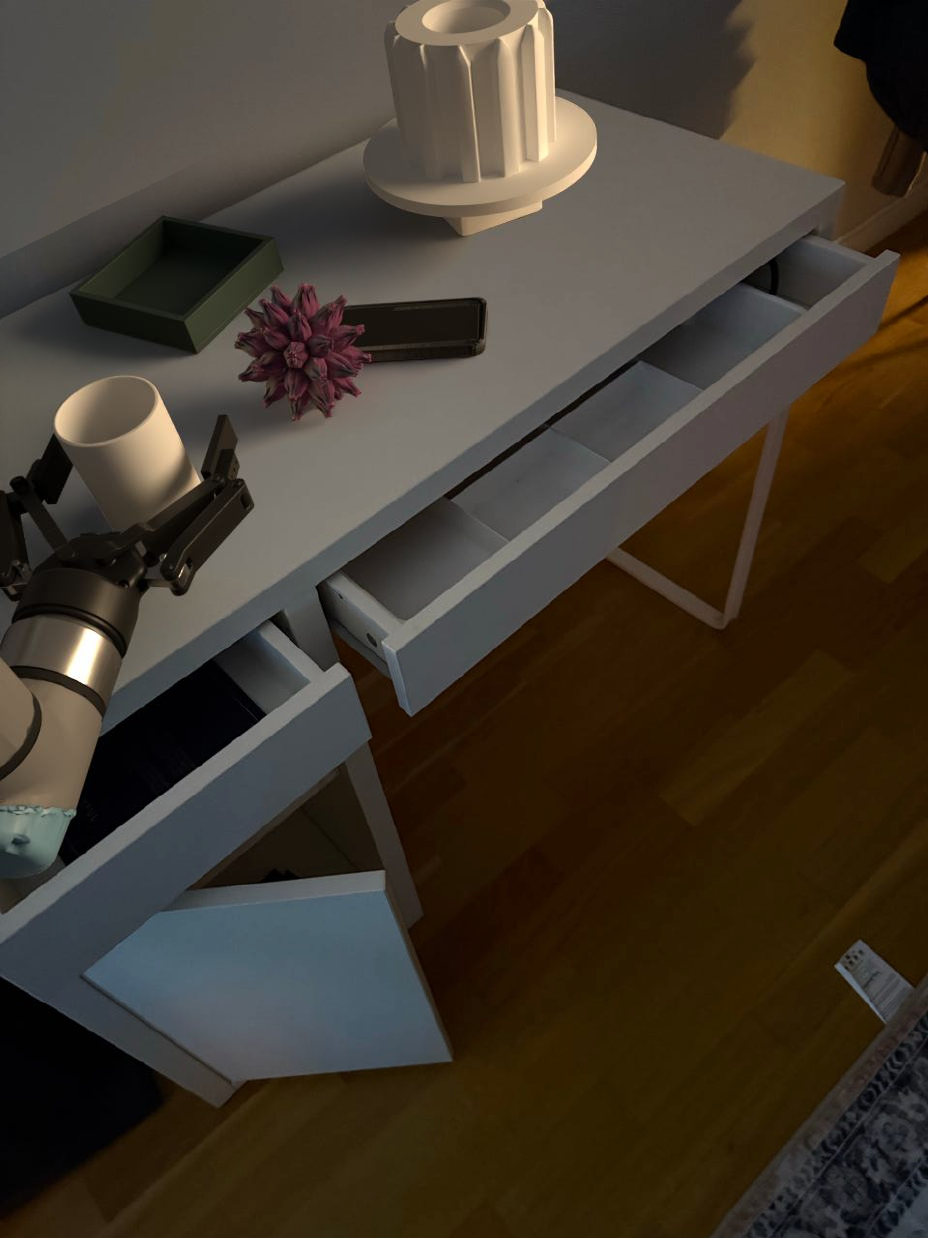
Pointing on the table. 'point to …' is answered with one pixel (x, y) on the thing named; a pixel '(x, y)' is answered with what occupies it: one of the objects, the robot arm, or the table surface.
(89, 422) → the mug
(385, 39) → the flanged gear
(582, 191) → the table surface
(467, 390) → the table surface
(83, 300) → the bin
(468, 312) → the phone
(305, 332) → the flower
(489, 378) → the table surface
